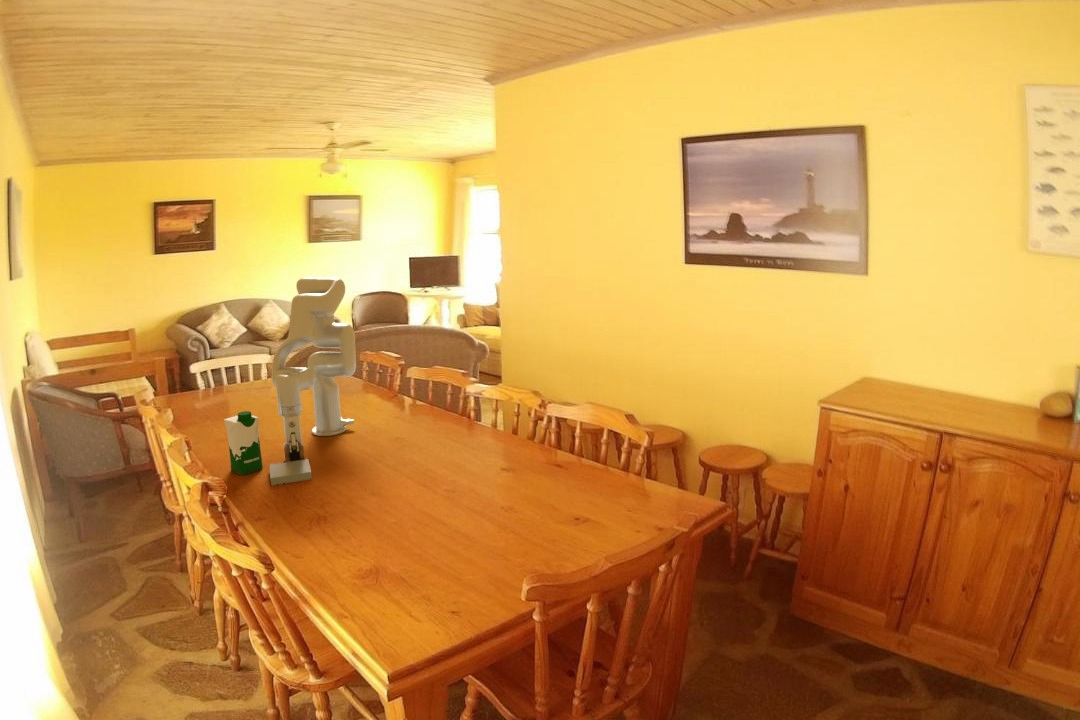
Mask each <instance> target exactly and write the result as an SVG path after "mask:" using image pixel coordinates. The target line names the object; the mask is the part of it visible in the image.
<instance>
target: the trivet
mask: <svg viewBox="0 0 1080 720" xmlns="http://www.w3.org/2000/svg"><path fill="white" fill-rule="evenodd" d="M304 459H305V458H304ZM309 461H310V460H309V459H308V458H306V459H305V460H298V461H291V462H278V463H272V464H269V478H270V486H271V485H272V486H277V484H279V485H284V484H283V483H285V484H290V483H291V484H292V483H296V482H304V481H309V480H310V479H311V480H313V479H312V478H313V477H312V469H311V466H310V462H309Z"/></svg>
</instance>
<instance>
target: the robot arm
mask: <svg viewBox="0 0 1080 720" xmlns="http://www.w3.org/2000/svg"><path fill="white" fill-rule="evenodd" d="M296 290H297V293H298V294H297V295H295V296H294V297H293V298H292V300H291V307H290V315H289V318H290V319H289V325H288V326H289V327H288V336H287V338H286V339H285V340H284V341H283V342H282V343H281V344H280V346H279V347H278V348H277V350H276V351H275V353H274V356H273V357H272V364H271V376H270V377H271V382H272V385H273V386H274V387H275V392H276V393H275V394H276V403H277V410H278V411H277V414H278V416H279V417H282V423H283V431H284V436H285V441H286V443H287V444H288V445H289V447H290V452H289V455H290V462H291V461H298V460H300V452H299V449H298V442H299V443H302V442H303V435H302V426H301V425H302V424H301V417H300V415H302V414H303V403H302V394H301V393H302V391H305V390H309V389H311V388H312V396H313V407H314V408H313V409H314V420H315V426H314V427H313V428H312V429H311V434H312V435H315V436H319V437H331V436H336V435H340V434H343V433H344V432H346V430H347V427H346V426H351V425H355V421H354V419H350V418H347V419H344V418H343V417H342V414H341V413H342V411H341V402H340V401H341V399H340V388H339V384H338V382H337V381H336V379H335V378H338V377H339V378H346V377H351V376H353V375H354V374H355V373H356V369H357V355H356V354H357V353H356V351H357V350H356V334H355V330H354V328H353V327H352V325H351V324H349V323H345V322H335V313H336V311H337V310H338V308H339V306H340V304H341V303H342V301H343V298H344V297H345V294H346V284H345V282H344V281H343V280H342V279H341V278H339V277H326V276H325V277H319V276H317V277H316V276H315V277H314V276H311V277H307V276H306V277H302V278H299V279H298V280H297V282H296ZM311 343H312V345H313V347H315V348H317V349H318V348H320V349H339V350H340V351H325V350H323V351H315V352H313V353H311V354H310V355H309V356H308V359H307V367H292V366H291V367H289V366H288V367H287V366H286V361H287V359H288V357H289V356H290V354H292V353H293V352H294V351H296V350H297V349H299V348H301V347H303V346H306V345H307V344H311ZM334 377H335V378H334ZM296 441H297V442H296ZM290 442H292V443H290ZM291 445H292V446H291ZM291 449H292V450H291Z"/></svg>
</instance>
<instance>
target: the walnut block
mask: <svg viewBox="0 0 1080 720" xmlns="http://www.w3.org/2000/svg"><path fill="white" fill-rule="evenodd" d="M296 442H297V441H296ZM290 443H292V442H290ZM291 446H292V445H291ZM298 449H299V452H300V460H305V449H304V443H303V441H302V443H299V442H298ZM283 450H284V460H285V461H286V462H290V455H289V452H290V447H289V445H288V444H287V442H284V443H283ZM291 450H292V449H291Z"/></svg>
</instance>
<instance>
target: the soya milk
mask: <svg viewBox="0 0 1080 720" xmlns="http://www.w3.org/2000/svg"><path fill="white" fill-rule="evenodd" d="M259 421H260V418H259V417H258V416H255V415H252V412H251V411H246V410H244V411H240V412H238V413H237V415H235V416H231V417H228V418H224V419H223V422H224V425H225V429H226V433H227V440H228V441H227V442H228V449H229V458H230V471H232V472H234V473H236V474H238V473H239V474H238V475H241V476H246V475H248V473H249V474H251V472H252V473H253V472H254V471H255V472H257V471H260V470H263V469H264V468H263V458H262V452H261V443H260V442H261V441H260V433H259V423H260V422H259ZM262 468H263V469H262ZM259 469H260V470H259ZM255 472H254V473H255Z"/></svg>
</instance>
